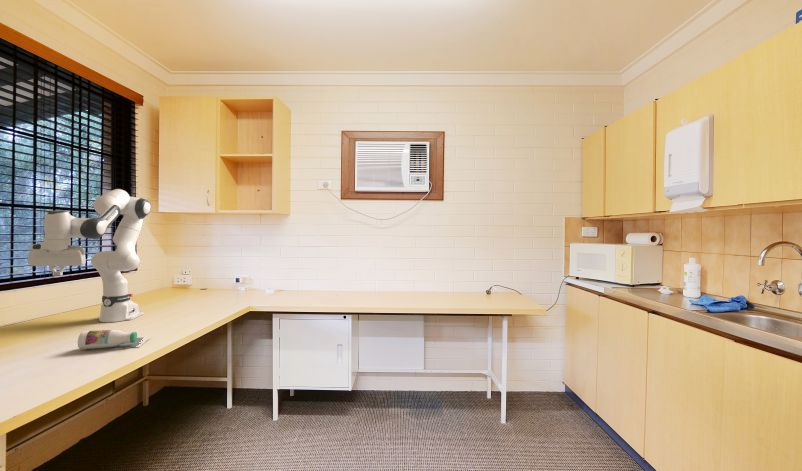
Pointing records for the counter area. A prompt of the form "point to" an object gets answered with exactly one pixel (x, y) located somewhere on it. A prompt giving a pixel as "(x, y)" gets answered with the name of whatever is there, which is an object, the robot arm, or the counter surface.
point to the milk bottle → (104, 338)
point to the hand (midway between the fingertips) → (57, 275)
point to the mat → (123, 345)
